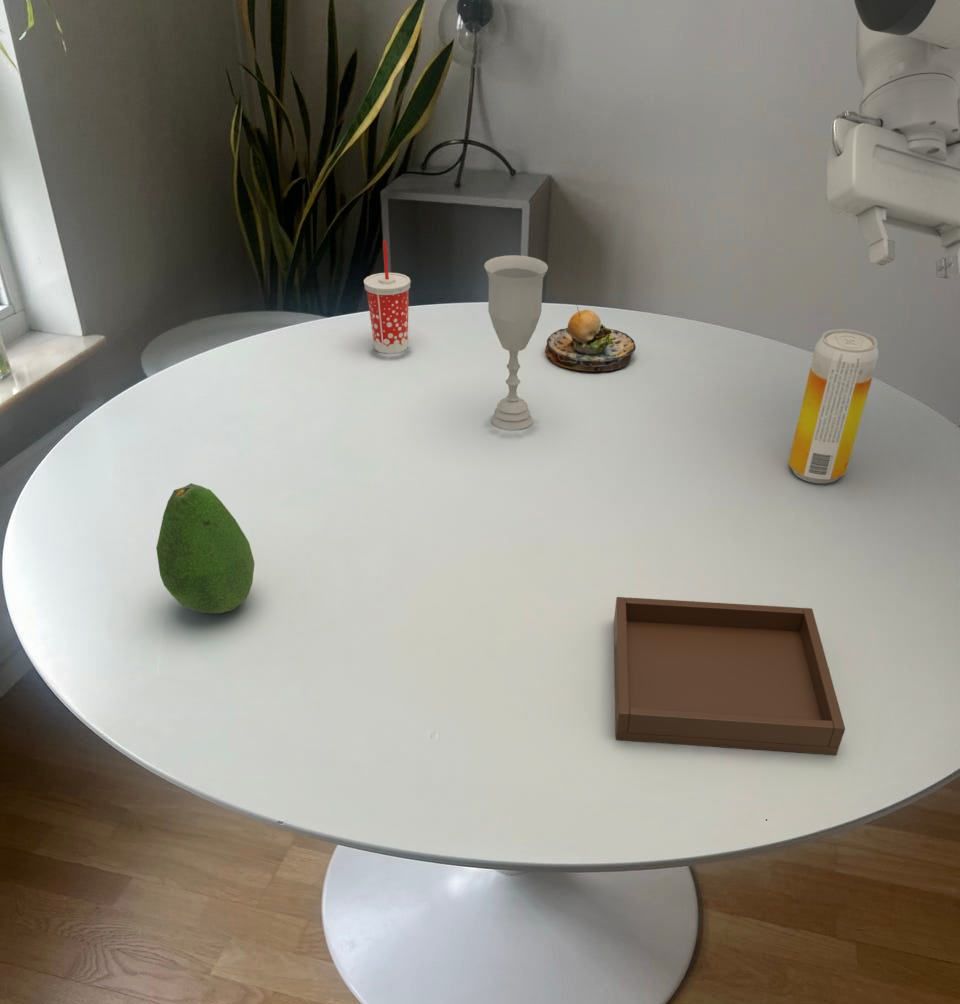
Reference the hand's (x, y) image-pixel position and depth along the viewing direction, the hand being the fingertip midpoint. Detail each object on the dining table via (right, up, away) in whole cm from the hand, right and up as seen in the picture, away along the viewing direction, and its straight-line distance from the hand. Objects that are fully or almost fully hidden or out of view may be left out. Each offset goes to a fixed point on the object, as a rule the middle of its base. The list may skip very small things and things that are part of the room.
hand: (916, 269), depth 94 cm
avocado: (-66, -33, -7) cm, 75 cm away
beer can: (-6, -18, +12) cm, 22 cm away
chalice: (-39, -10, +21) cm, 45 cm away
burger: (-28, +2, +36) cm, 45 cm away
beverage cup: (-55, +4, +38) cm, 67 cm away
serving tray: (-23, -40, -15) cm, 48 cm away
